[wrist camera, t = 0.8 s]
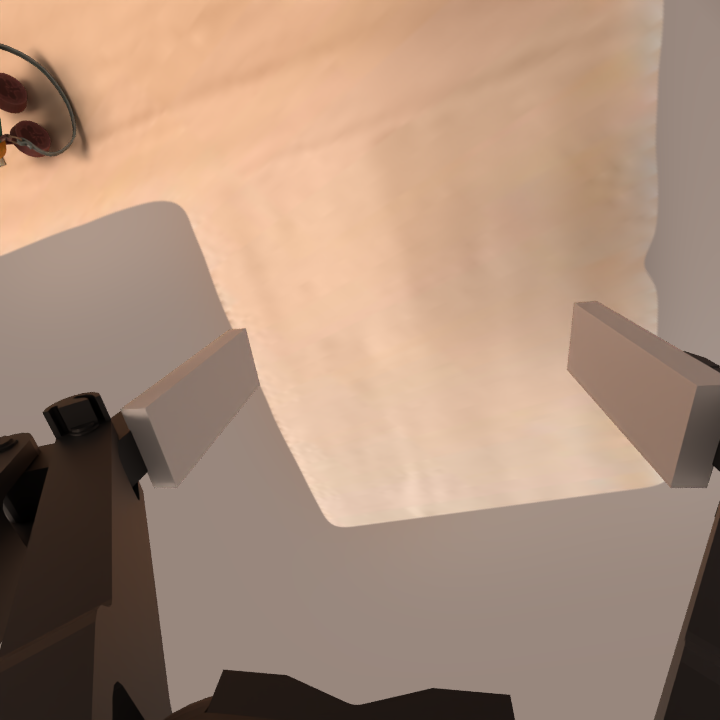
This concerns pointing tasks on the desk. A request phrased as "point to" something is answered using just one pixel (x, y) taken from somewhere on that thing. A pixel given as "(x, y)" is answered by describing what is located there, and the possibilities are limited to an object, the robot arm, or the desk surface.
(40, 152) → the binoculars
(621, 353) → the robot arm
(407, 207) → the desk surface
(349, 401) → the desk surface
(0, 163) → the mat
